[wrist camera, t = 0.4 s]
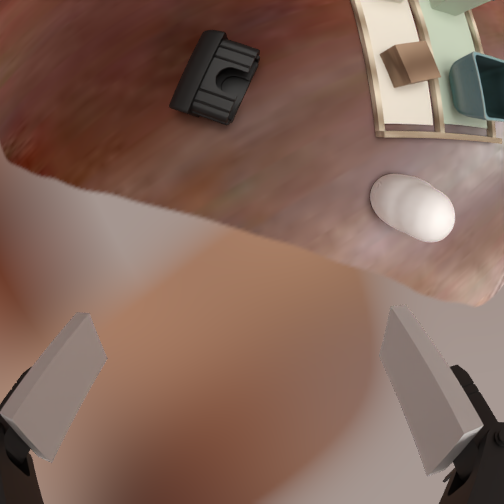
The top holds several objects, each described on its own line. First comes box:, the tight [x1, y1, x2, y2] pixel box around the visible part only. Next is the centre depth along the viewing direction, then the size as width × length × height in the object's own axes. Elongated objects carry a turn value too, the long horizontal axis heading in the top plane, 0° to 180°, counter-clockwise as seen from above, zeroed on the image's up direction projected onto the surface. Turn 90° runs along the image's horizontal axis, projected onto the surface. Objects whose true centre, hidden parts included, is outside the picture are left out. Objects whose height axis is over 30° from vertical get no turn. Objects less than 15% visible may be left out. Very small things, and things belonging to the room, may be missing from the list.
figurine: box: [370, 174, 455, 242], centre depth 30 cm, size 7×8×12 cm
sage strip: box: [418, 0, 494, 129], centre depth 22 cm, size 22×10×11 cm, turn 8°
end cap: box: [169, 30, 260, 125], centre depth 28 cm, size 10×7×7 cm
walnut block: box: [380, 41, 441, 88], centre depth 26 cm, size 5×5×5 cm
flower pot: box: [449, 51, 504, 122], centre depth 25 cm, size 9×9×9 cm
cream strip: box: [360, 0, 433, 125], centre depth 23 cm, size 22×8×11 cm, turn 8°
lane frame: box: [350, 0, 502, 144], centre depth 25 cm, size 33×22×3 cm
